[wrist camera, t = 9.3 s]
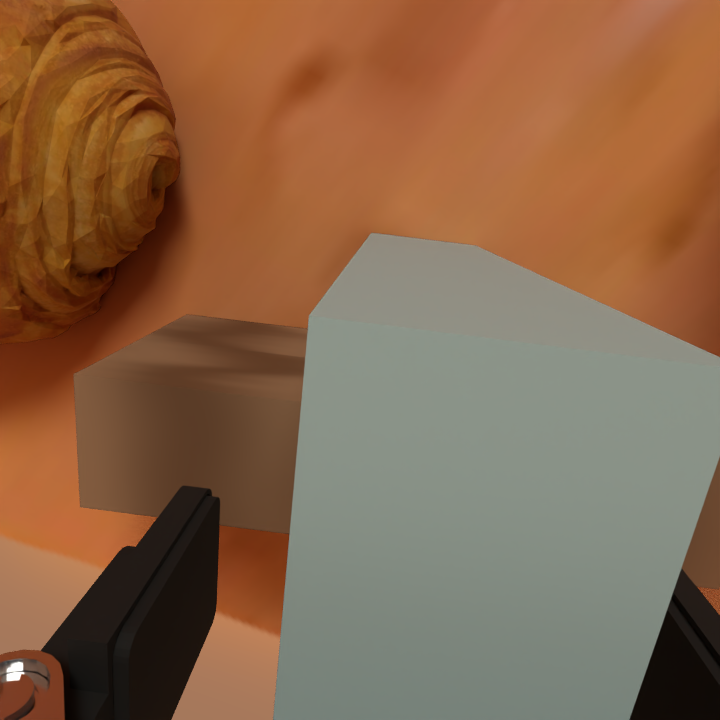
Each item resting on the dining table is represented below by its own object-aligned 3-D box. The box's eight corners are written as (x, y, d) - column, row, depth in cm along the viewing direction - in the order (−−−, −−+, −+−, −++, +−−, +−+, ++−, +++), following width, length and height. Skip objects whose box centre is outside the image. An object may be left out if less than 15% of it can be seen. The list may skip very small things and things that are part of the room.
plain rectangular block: (371, 232, 20) (309, 315, 5) (475, 245, 20) (748, 371, 5) (339, 505, 24) (242, 1063, 8) (427, 517, 23) (497, 1103, 8)
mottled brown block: (629, 367, 21) (766, 458, 13) (605, 457, 22) (718, 589, 15) (186, 314, 21) (73, 374, 14) (185, 405, 23) (80, 507, 15)
